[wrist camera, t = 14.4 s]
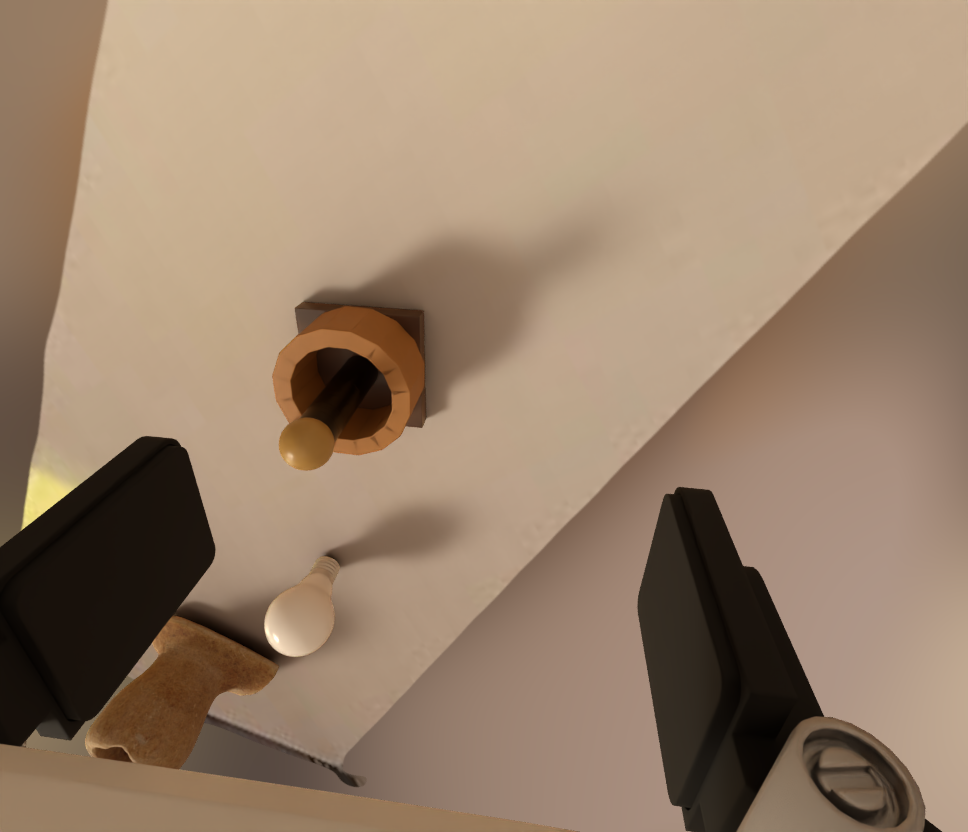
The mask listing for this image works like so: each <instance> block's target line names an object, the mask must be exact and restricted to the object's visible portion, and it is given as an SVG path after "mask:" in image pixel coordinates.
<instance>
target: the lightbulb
mask: <svg viewBox="0 0 968 832" xmlns="http://www.w3.org/2000/svg"><path fill="white" fill-rule="evenodd" d="M339 569H340V567H339V564H338V562H337V561H336V560H334V559H333V558H331V557H326V556H323V557H319V558H318V559H317V560H316V561H315V563H314V566H313V567H312V569H311V571H310V573H309V575H308V576H306V577H305V578H304V579H303V580H302V581H301V582H300V583H299V584H298V585H296V586H294V587H291V588H289V589H287V590H285V591H284V592H282V593H281V594H280V595H278V596H277V597H276V598H275V599H274V601H273V602H272V603H271V605H270V606H269V608H268V610H267V613H266V616H265V621H264V630H265V635H266V638H267V640H268V642H269V643H270V645H271V646H272V647H273V648H274V649H275V650H276V651H277V652H279V653H281V654H283V655H286V656H290V657H301V656H305V655H308V654H311V653H313V652H314V651H316V650H317V649H319V648H320V647H321V646H322V645H323V644H324V643H325V642H326V641H327V639H328V638H329V636H330V634H331V632H332V629H333V626H334V619H335V615H334V608H333V604H332V601H331V595H332V585H333V582H334V580H335V578H336V576H337V574H338V571H339Z"/></svg>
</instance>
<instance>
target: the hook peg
mask: <svg viewBox="0 0 968 832" xmlns="http://www.w3.org/2000/svg"><path fill="white" fill-rule="evenodd" d="M377 377H378V370H377V367H376V366H375V365H374V364H373V363H372V362H371V361H370V360H369V359H367V358H365V357H363V356H360V355H357V356H353V357H351V358H349V359H348V360H347V361H346V363H345V364H344V365H343V366H342V367H341V369H340V370H339V371H338V372H337V373H336V375H335V376H334V377H333V378H332V379H331V381H330V382H329V383H328V384H327V386H326V387H325V388H324V389H323V390H322V392H321V393H320V394H319V395H318V396H317V398H316V399H315V400H314V401H313V402H312V404H311V405H310V406H309V407H308V408H307V410H306V411H305V412H304V413H303V414H302V416H301V417H300V418H299V419H297V420H294V421H293V422H291V423H290V424H288V425H287V426H286V427H285V428H284V430H283V431H282V433H281V436H280V439H279V450H280V453H281V456H282V457H283V459H284V460H285V461H286V463H288V464H289V465H290V466H292V467H294V468H296V469H299V470H314V469H317V468H319V467H321V466H323V465H324V464H325V463H326V462H327V461H328V460H329V459H330V457H331V456H332V454H333V451H334V445H335V441H336V440H337V438H338V437H339V435H340V434H341V432H342V431H343V429H344V428H345V426H346V425H347V423H348V422H349V420H350V419H351V417H352V416H353V414H354V413H355V411H356V410H357V408H358V407H359V405H360V404H361V402H362V401H363V399H364V398H365V396H366V395H367V393H368V392H369V390H370V389H371V387H372V386H373V384H374V383H375V381H376V379H377Z"/></svg>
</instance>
